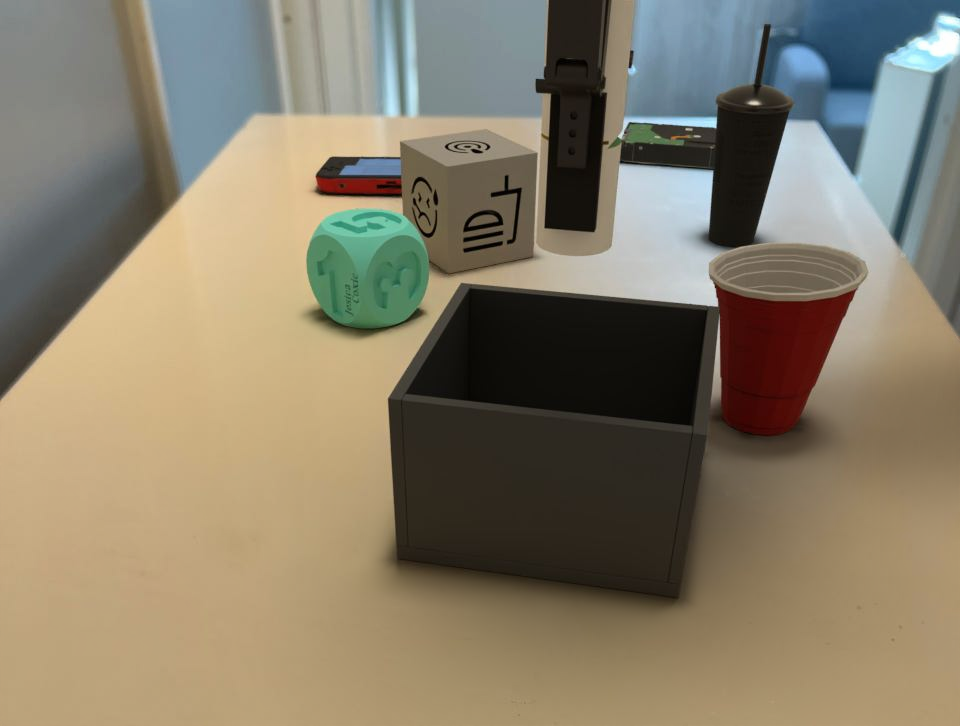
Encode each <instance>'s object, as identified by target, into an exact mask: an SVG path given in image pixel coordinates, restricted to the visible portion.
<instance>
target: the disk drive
mask: <svg viewBox="0 0 960 726" xmlns="http://www.w3.org/2000/svg"><path fill="white" fill-rule="evenodd" d="M715 138H716V127H713V126H710V127H709V126H695V125H679V124H666V123H661V124H660V123H653V122H638V121H637V122H636V121H634V122H633V121H629V122H628V123H627V124H626V126H625V129H623V134H622V136H621V137H620V139H621V142H622V143H621V153H620V161H622V162H624V163H625V162H627V163H638V164H643V165H665V166H674V167H685V168H699V169H710V170H711V169H712V170H713V167H714V153H715Z"/></svg>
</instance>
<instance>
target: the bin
mask: <svg viewBox="0 0 960 726" xmlns="http://www.w3.org/2000/svg"><path fill="white" fill-rule="evenodd" d="M719 325H720V307H718V305H717V306H716V305H715V306H714V305H705V304H695V303H684V302H673V301H664V300H663V301H662V300H651V299H643V298H642V299H641V298H630V297H621V296H620V297H619V296H609V295H598V294H589V293H588V294H587V293H577V292H576V293H575V292H567V291H566V292H565V291H555V290H545V289H544V290H543V289H532V288H523V287H511V286H500V285H490V284H480V283H479V284H478V283H469V282H468V283H467V282H461V283H459V285H458V287H457V289H456V290H455V291H454V293H453V295H452V296H451V298H450V300H449V301H448V302H447V304H446V305H445V307H444V309H443V310H442V312H441V314H440V316H439V317H438V318H437V320H436V322H435V323H434V325H433V326H432V328H431V330H430V331H429V333H428V334H427V336H426V337H425V339H424V340H423V342H422V344H421V345H420V347H419V348H418V350H417V351H416V353H415V354H414V356H413V358H412V360H411V361H410V363H409V364H408V366H407V367H406V369H405V370H404V372H403V373H402V376H401V377H400V378H399V380H398V382H397V383H396V385H395V386H394V388H393V390H392V391H391V392H390V394H389V396H388V398H387V409H388V410H387V411H388V427H389V443H390V444H389V445H390V462H391V463H390V464H391V479H392V496H393V512H394V513H393V514H394V529H395V530H394V531H395V532H394V533H395V546H396V558H397V559H399V560H406V561H411V562H412V561H413V562H421V563H426V564H427V563H428V564H435V565H442V566H448V567H454V568H455V567H457V568H463V569H469V570H470V569H471V570H479V571H485V572H491V573H498V574H506V575H514V576H520V577H521V576H522V577H527V578H535V579H541V580H549V581H557V582H563V583H570V584H578V585H586V586H592V587H599V588H605V589H613V590H620V591H621V590H622V591H627V592H634V593H642V594H647V595H655V596H664V597H671V598H676V599H677V598H680V594H681V593H680V592H681V588H682V582H683V576H684V571H685V565H686V560H687V554H688V549H689V542H690V537H691V533H692V531H691V530H692V526H693V519H694V514H695V508H696V504H697V497H698V492H699V487H700V486H699V485H700V480H701V475H702V470H703V463H704V457H705V451H706V447H707V440H708V435H709V426H710V415H711V414H710V413H711V406H712V405H711V404H712V394H713V383H714V373H715V363H716V353H717V343H718V334H719Z"/></svg>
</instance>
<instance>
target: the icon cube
mask: <svg viewBox="0 0 960 726" xmlns="http://www.w3.org/2000/svg"><path fill="white" fill-rule="evenodd" d="M399 153H400V154H399V155H400V156H399V157H401V181H402V194H401V199H402V200H401V201H402V215H404V216H405V217H406V218H407V219H408V220H409V221H410V222H411V223H412V224H413V225H414V226H415V228H416V229H417V230H418V232H419V234H420V235H421V237H422V239H423V242H424V244H425V247H426V250H427V254H428V259H429V262H431V263H432V264H434V265H436V266H437V267H438V268H440V269H441V270H443V271H444V272H445V273H447V274H448V275H449V274H453V273H460V272H463V271H468V270H474V269H478V268H483V267H489V266H492V265H493V266H494V265H499V264H504V263H509V262H513V261H517V260H519V261H520V260H523V259H527V258H532V257H534V249H535V225H536V203H537V202H536V201H537V177H538V155H539V153H538V152H537V151H535V150H532V149H531V148H528V147H526V146H524V145H522V144H520V143H518V142H516V141H513V140H512V139H509V138H507V137H505V136H503V135H500V134H499V133H497V132H494V131H493V130H490V129H487V128H484V129H477V130H469V131H468V130H467V131H461V132H456V133H448V134H441V135H434V136H433V135H432V136H426V137H418V138H413V139H405V140H400V141H399Z"/></svg>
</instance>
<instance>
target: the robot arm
mask: <svg viewBox="0 0 960 726" xmlns="http://www.w3.org/2000/svg"><path fill="white" fill-rule="evenodd" d="M611 2H612V0H549V4H548V28H547V52H546V66H545V67H544V66H543V78H535V84H534V85H535V86H534V88H535V93H536V94H542V95H543V94H551V100H550V121H549V141H548V162H547V183H546V203H545V224H544V228H546V229H558V230H570V231H582V232H595V230H596V224H597V212H598V199H599V187H600V175H601V163H602V150H603V138H604V126H605V114H606V101H607V93H606V92H602V91H603V89H605V86H606V77H605V75H604V73H605V63H606V53H607V43H608V33H609V23H610V13H611ZM634 54H635V51H634V50H631V49H630V58H629V68H628V69H632V67H633V61H634ZM566 58H574V59H566ZM544 78H545V79H544Z"/></svg>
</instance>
